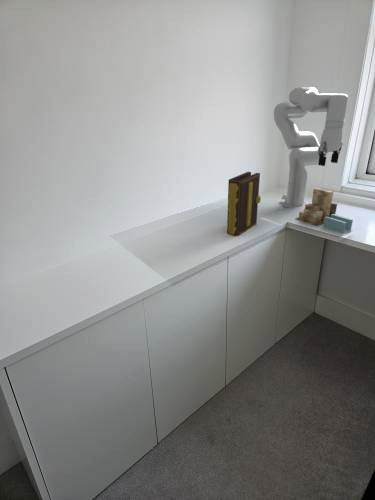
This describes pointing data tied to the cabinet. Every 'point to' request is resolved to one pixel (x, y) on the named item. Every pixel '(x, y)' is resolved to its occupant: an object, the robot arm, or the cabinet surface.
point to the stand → (337, 223)
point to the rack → (315, 214)
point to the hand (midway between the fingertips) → (327, 164)
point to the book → (242, 203)
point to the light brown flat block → (322, 199)
